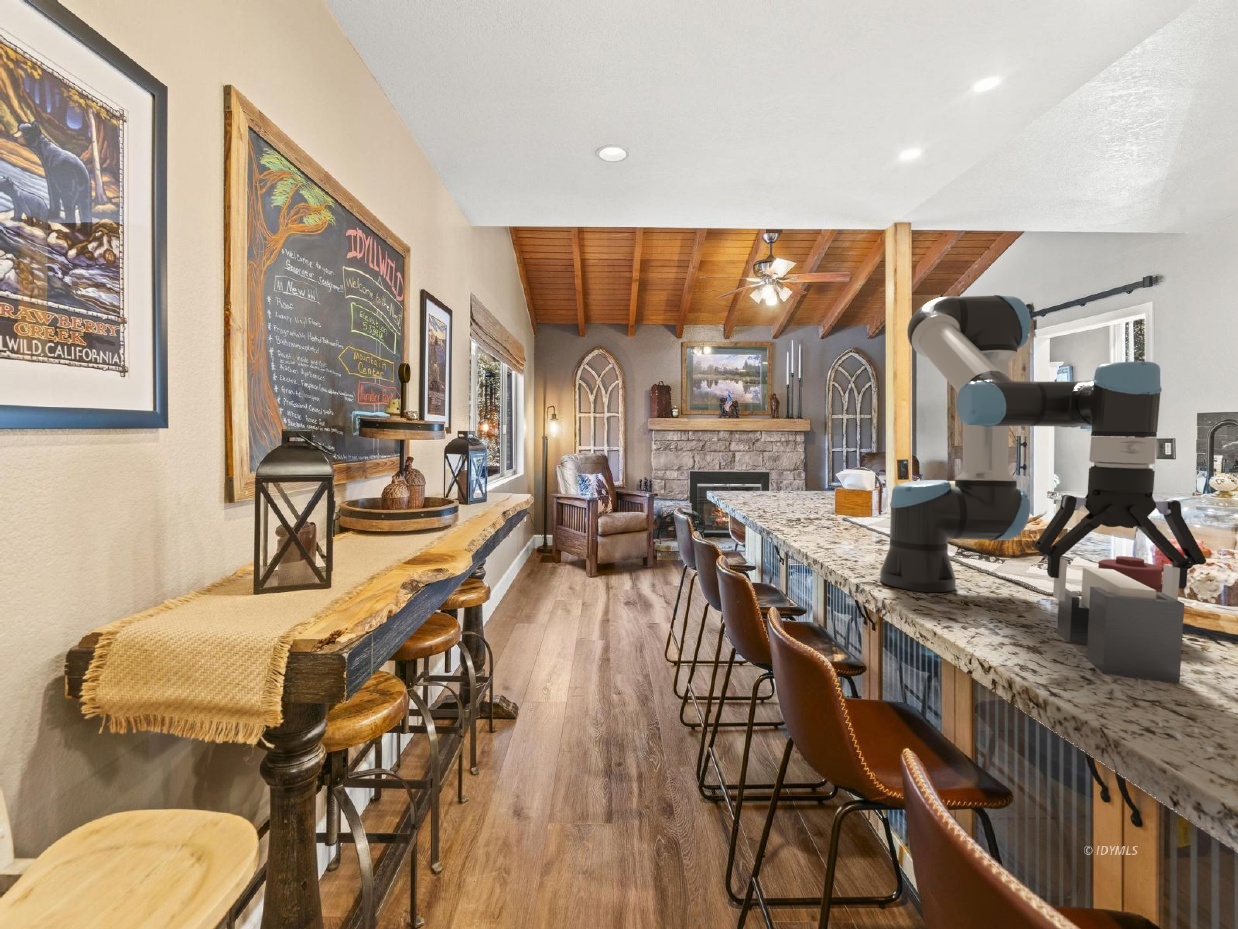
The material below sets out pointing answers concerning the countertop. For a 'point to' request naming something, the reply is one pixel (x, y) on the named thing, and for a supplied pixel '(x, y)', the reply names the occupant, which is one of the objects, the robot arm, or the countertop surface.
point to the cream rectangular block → (1113, 584)
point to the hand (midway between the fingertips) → (1112, 604)
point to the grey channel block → (1073, 619)
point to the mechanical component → (1136, 570)
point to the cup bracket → (1135, 635)
